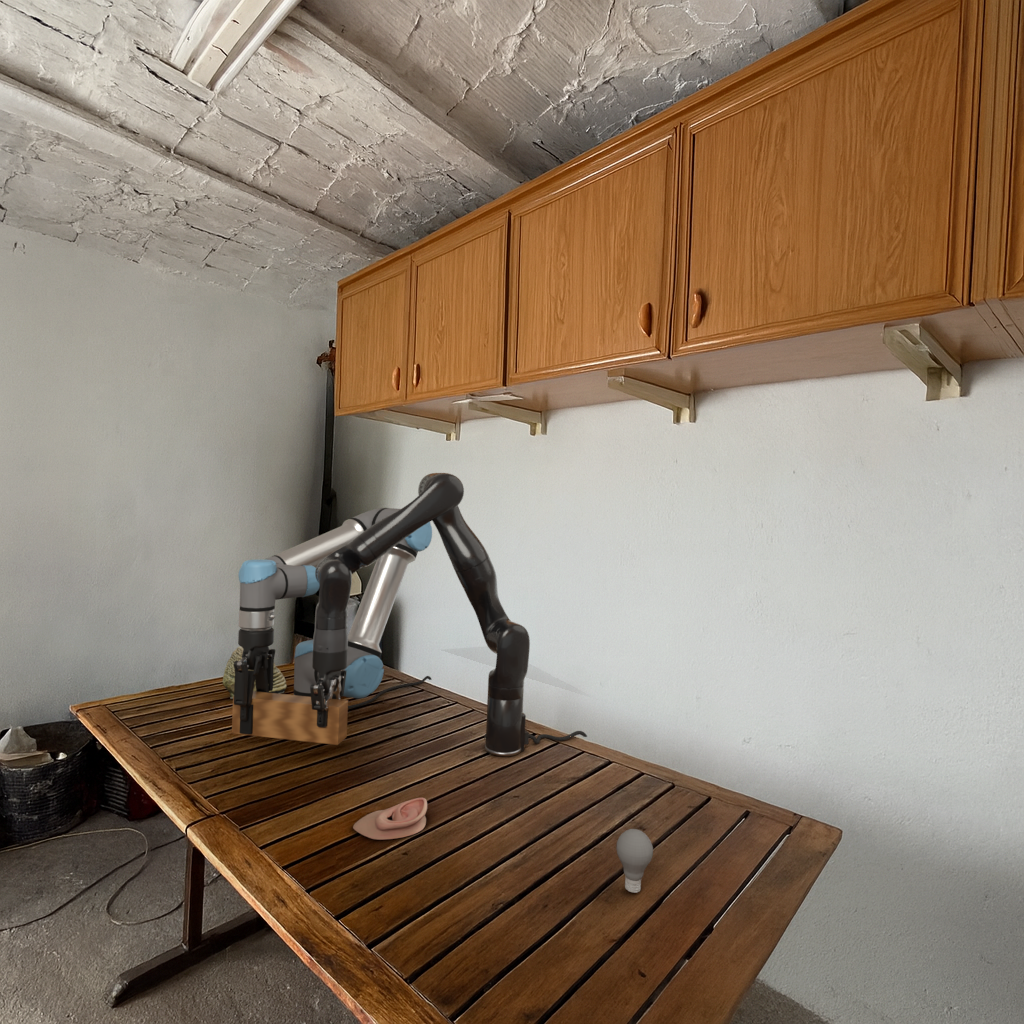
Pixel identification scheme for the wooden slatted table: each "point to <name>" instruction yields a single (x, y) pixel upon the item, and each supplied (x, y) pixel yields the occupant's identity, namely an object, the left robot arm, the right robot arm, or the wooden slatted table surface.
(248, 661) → the left robot arm
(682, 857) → the wooden slatted table surface
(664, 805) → the wooden slatted table surface
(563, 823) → the wooden slatted table surface
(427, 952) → the wooden slatted table surface
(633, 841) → the light bulb
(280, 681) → the fossil
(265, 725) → the bar
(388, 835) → the anatomical model
